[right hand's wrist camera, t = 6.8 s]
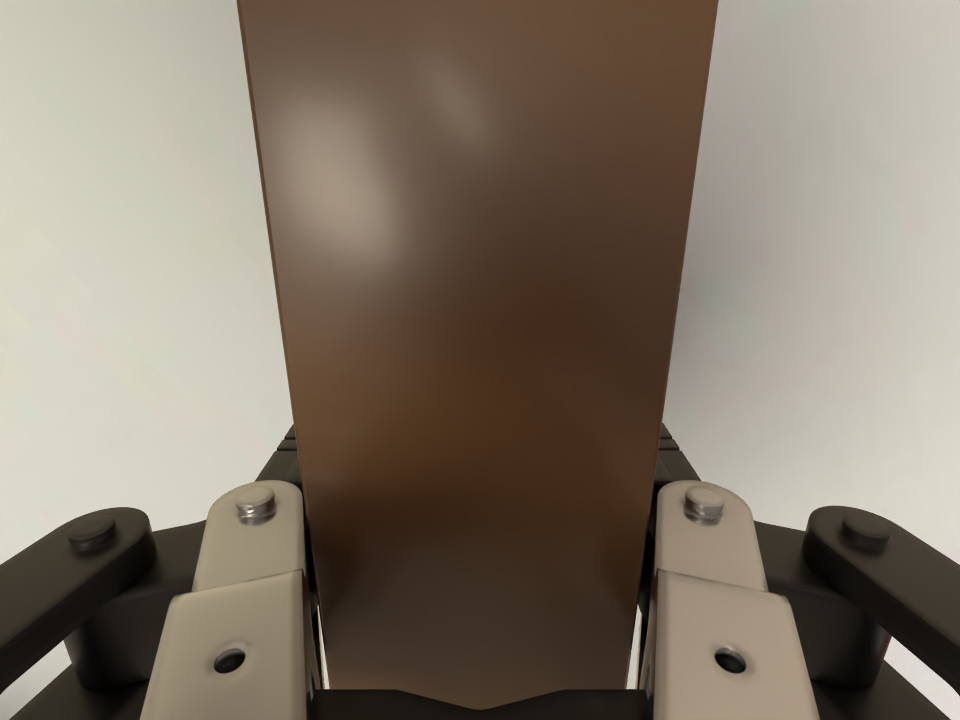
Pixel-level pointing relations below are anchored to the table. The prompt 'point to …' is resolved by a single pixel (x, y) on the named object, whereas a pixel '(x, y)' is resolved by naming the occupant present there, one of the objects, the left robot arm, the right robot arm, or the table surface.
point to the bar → (477, 319)
